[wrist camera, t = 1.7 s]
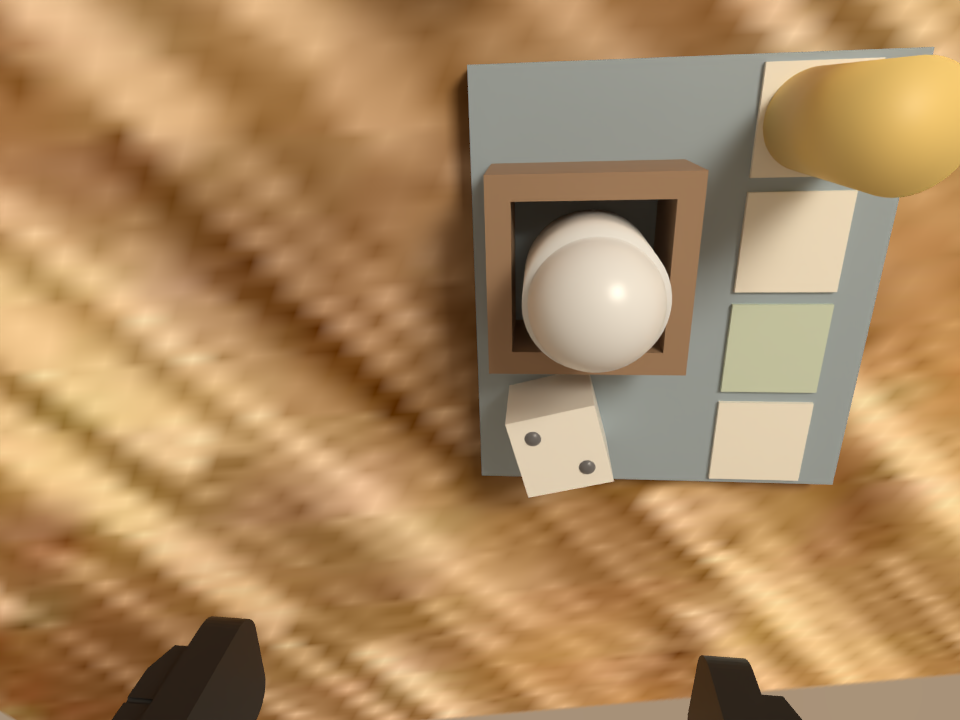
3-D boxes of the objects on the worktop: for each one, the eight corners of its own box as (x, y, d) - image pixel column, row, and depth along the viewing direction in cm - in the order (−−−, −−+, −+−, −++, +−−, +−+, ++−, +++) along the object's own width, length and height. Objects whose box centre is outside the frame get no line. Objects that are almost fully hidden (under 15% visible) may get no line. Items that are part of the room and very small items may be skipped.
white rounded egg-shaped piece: (524, 210, 25) (518, 248, 19) (658, 208, 24) (695, 246, 18) (524, 332, 27) (519, 400, 21) (647, 333, 26) (678, 402, 20)
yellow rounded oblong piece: (771, 66, 24) (851, 57, 18) (879, 63, 24) (1001, 51, 17) (756, 172, 26) (824, 198, 19) (857, 171, 25) (962, 197, 19)
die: (509, 385, 31) (504, 426, 27) (588, 367, 30) (594, 407, 26) (530, 451, 32) (528, 500, 29) (605, 436, 32) (614, 483, 28)
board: (470, 66, 26) (454, 60, 22) (917, 49, 25) (1005, 39, 20) (483, 463, 34) (474, 522, 30) (822, 471, 33) (870, 536, 28)
